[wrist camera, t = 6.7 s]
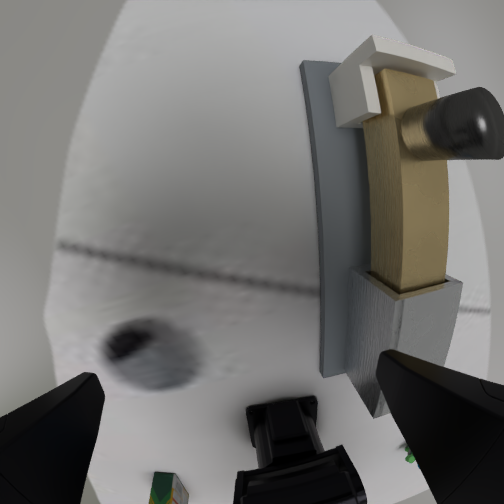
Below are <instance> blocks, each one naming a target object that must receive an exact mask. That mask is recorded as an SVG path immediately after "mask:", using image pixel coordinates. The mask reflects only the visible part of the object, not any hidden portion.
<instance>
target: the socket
mask: <svg viewBox="0 0 504 504" xmlns="http://www.w3.org/2000/svg"><path fill="white" fill-rule="evenodd" d="M383 69H390V70H395V71H399V72H404V73H408V74H412V75H416V76H420V77H424V78H427V79H431V80H433V81H434V85H435V89H436V94H437V98H438V99H439V98H440V95H439V91H438V86H437V81H440V80H443V79H445V78H448V77H451V76H453V75H456V71H455V68H454V64H453V61H452V59H449V58H447V57H444V56H442V55H439V54H436V53H434V52H431V51H428V50H425V49H422V48H419V47H416V46H413V45H410V44H406V43H403V42H399V41H396V40H392V39H388V38H384V37H380V36H375V35H371V36H370V37H369V38H368V39H367V40H366V41H364V42H363V43H362V44H361V45H360V46H359V47H358V48H357V49H356V50H355V51H354V52H353V53H352V54H351V55H350V56H348V57H347V58H346V59H345V60H344V61H343V62H342V63H341V64H340V65H339V66H338V67H337V68H336V69H335V70H334V71H333V72H332V73H331V74H330V75H329V76H328V77H329V83H330V88H331V94H332V100H333V106H334V113H335V120H336V127H342V128H363V122H362V121H364V120H366V119H369V118H371V117H374V116H376V115H378V114H381V109H380V103H379V98H378V93H377V88H376V83H375V78H374V75H376V74H377V73H379V72H380V71H382V70H383Z"/></svg>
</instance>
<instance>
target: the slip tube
mask: <svg viewBox="0 0 504 504" xmlns="http://www.w3.org/2000/svg"><path fill="white" fill-rule="evenodd" d="M374 78H375V83H376V88H377V93H378V98H379V103H380V109H381V114H378V115H376V116H374V117H371V118H369V119H366V120H364V121H362V122H363V129H364V137H365V145H366V154H367V164H368V176H369V190H370V209H371V276H372V277H374V278H375V279H377V280H378V281H380V282H381V283H382V284H384V285H385V286H387V287H388V288H390V289H391V290H393V291H394V292H396V293H397V294H398V295H400V294H404V293H408V292H412V291H416V290H420V289H424V288H428V287H432V286H435V285H439V284H443V283H444V282H445V273H446V263H447V251H448V234H449V186H448V169H447V160H470V159H496V160H499V159H501V158H503V157H504V114H503V111H502V109H501V107H500V105H499V103H498V102H497V100H496V99H495V97H494V96H493V95H492V94H491V93H490V92H489V91H488V90H486V89H485V88H482V87H477V88H473V89H470V90H466V91H462V92H459V93H455V94H452V95H449V96H445V97H442V98H439V99H438V98H437V94H436V89H435V85H434V81H433V80H431V79H427V78H424V77H420V76H416V75H412V74H408V73H404V72H399V71H395V70H390V69H383V70H382V71H380V72H379V73H377V74H376V75H374Z"/></svg>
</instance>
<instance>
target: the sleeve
mask: <svg viewBox="0 0 504 504" xmlns="http://www.w3.org/2000/svg"><path fill="white" fill-rule="evenodd" d="M462 285H463V282H461V281H459V280H457V279H455V278H453V277H451V276H449V275H446V274H445V282H444V283H443V284H439V285H435V286H432V287H428V288H424V289H420V290H416V291H412V292H408V293H404V294H400V295H398V294H397V293H396V292H394V291H393V290H391V289H390V288H388V287H387V286H385V285H384V284H382V283H381V282H380V281H378V280H377V279H375V278H374V277H372V276H371V263H370V264H363V265H357V266H351V267H348V313H347V332H346V347H345V359H344V371H345V372H346V374H347V375H348V377H349V379H350V380H351V382H352V384H353V385H354V387H355V389H356V390H357V392H358V394H359V395H360V397H361V399H362V400H363V402H364V404H365V405H366V407H367V409H368V410H369V412H370V414H371V415H372V417H373V419H374V418H377V417H380V416H383V415H386V414H388V413H391V412H390V410H389V408H388V405H387V403H386V400H385V398H384V395H383V393H382V391H381V388H380V386H379V383H378V381H377V378H376V368H377V363H378V358H379V354H380V353H381V352H382V351H385V350H389V349H394V350H397V351H400V352H402V353H405V354H408V355H411V356H414V357H416V358H419V359H422V360H425V361H428V362H431V363H434V364H437V365H440V366H443V367H444V364H445V360H446V357H447V354H448V350H449V347H450V343H451V339H452V335H453V331H454V327H455V323H456V318H457V313H458V308H459V303H460V297H461V292H462Z"/></svg>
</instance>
